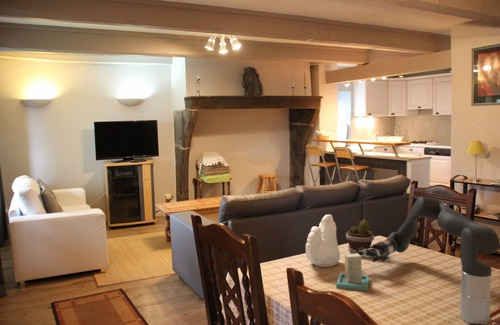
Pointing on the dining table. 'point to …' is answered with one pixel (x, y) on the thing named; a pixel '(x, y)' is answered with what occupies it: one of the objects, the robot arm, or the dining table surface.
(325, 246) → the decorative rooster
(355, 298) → the dining table surface
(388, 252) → the robot arm
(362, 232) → the flowerpot
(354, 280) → the skincare box
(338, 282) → the teal tray
